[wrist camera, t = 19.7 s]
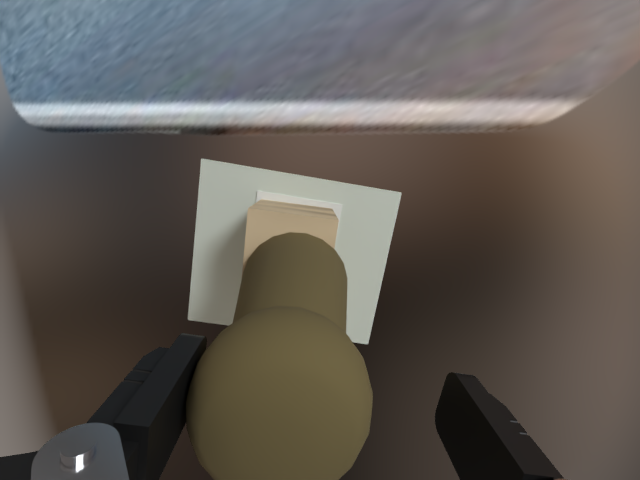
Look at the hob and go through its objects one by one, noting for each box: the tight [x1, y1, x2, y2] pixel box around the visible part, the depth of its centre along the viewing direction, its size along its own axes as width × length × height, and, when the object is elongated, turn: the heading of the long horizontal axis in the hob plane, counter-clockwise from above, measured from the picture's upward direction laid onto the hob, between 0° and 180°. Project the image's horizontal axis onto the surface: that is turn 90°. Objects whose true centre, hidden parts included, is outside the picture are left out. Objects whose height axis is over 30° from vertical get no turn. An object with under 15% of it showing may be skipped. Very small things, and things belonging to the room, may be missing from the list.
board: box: [188, 159, 402, 344], centre depth 23 cm, size 12×14×1 cm
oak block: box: [242, 199, 339, 276], centre depth 21 cm, size 8×5×5 cm, turn 172°
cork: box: [186, 232, 373, 480], centre depth 13 cm, size 6×6×11 cm
